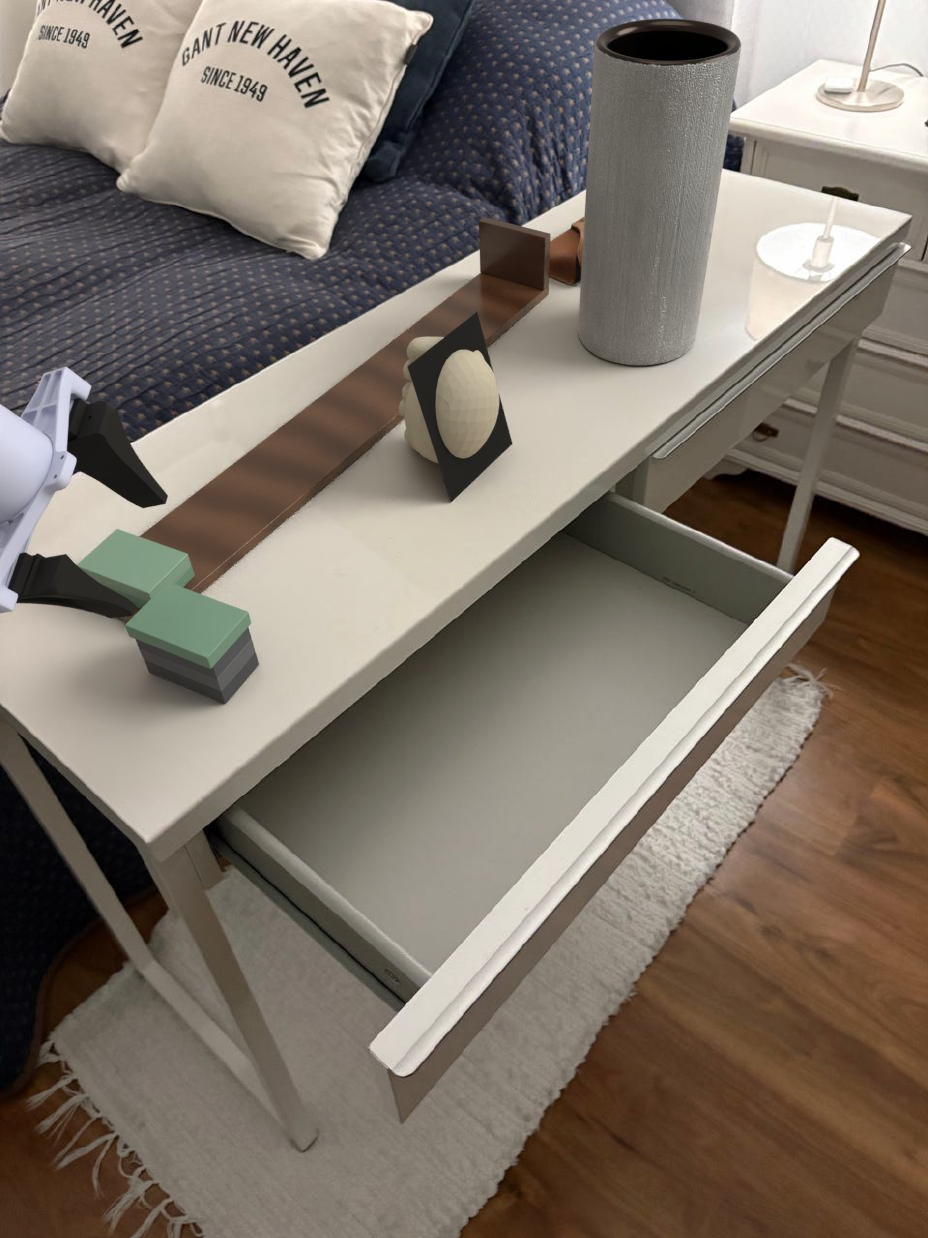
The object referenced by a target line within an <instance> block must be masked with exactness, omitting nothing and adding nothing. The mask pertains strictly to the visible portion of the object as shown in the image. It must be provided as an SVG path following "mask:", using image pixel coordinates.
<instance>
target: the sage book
mask: <svg viewBox="0 0 928 1238" xmlns="http://www.w3.org/2000/svg"><path fill="white" fill-rule="evenodd" d="M251 624H252V620H251V616H250V613H249V611H246V610H245V609H242V608H240V607H237V606H234V605H232V604H229V603H225V602H223V601H220V600H218V599H215V598H212V597H209V596H207V595H204V594H202V593H200V594H199V593H196V592H194V591H191V590H188V589H185V588H183V587H180V586H177V585H175V584H172V583H169V582H168V583H167V584H166V585H165V586H163V587H162V588H161V589H160V590H159V591H158V592H157V593H156V594H155V595H154V596H153V597H152V598H151V599H150V600H149V601H148V602H147V603H146V604H145V605H144V606H143V607H142V608H141V609H140V610H139V611H138V612H137V613H136V614H135V615H134V616H133V617H132V618H131V619H130V620H129V621H128V622H127V623H126V622H125V624H124V627H125V629H126V632H127V634H128V636H129V637H130V638H132V639H134V640H136V639H137V640H140V641H142V642H145V643H147V644H150V645H152V646H155V647H157V648H160V649H162V650H165V651H167V652H169V653H172V654H174V655H177V656H179V657H182V658H184V659H187V660H189V661H192V662H194V663H197V664H199V665H202V666H204V667H207V668H209V669H211V668H212V667H213V666H214V665H215V664H216V663H217V662H218V660H219V659H220V658H221V657H222V656H223V655H224V654H225V653H226V651H227V650H228V649H229V648H230V647H231V646H232V645H233V644H234V642H235V641H236V640H237V639H238V638H239V637H240V636H241V634H242V633H243V632H244V631H245V630H246V629H247V628H248V627H250V626H251Z"/></svg>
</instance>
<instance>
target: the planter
mask: <svg viewBox="0 0 928 1238" xmlns="http://www.w3.org/2000/svg"><path fill="white" fill-rule="evenodd" d="M593 48H594V49H593V50H594V51H593V65H592V79H591V81H592V82H591V98H590V117H589V130H588V131H589V133H588V149H587V150H588V151H587V168H586V184H585V185H586V186H585V200H584V201H585V202H584V216H583V217H584V234H583V251H582V269H581V281H580V286H579V287H580V288H579V304H578V337H579V340H580V342H581V344H582V345H583V347H585V348H586V350H588V351H589V352H590V353H592V354H593V355H595V356H597V357H598V358H601V359H603V360H606V361H608V362H612V363H616V364H621V365H626V366H627V365H628V366H653V365H658V364H664V363H668V362H671V361H674V360H676V359H678V358H680V357H682V356H683V355H685V354H686V353H687V352H688V351H689V350H690V349H691V348H692V347H693V346H694V343H695V340H696V335H697V331H698V327H699V321H700V313H701V308H702V301H703V295H704V289H705V282H706V276H707V275H706V274H707V268H708V263H709V257H710V256H709V255H710V249H711V243H712V237H713V230H714V226H715V225H714V224H715V219H716V218H715V217H716V211H717V205H718V198H719V192H720V186H721V180H722V172H723V166H724V161H725V155H726V148H727V141H728V136H729V129H730V124H731V123H730V121H731V116H732V109H733V103H734V98H735V97H734V96H735V91H736V84H737V77H738V70H739V64H740V58H741V50H742V42H741V39H740V38H739V36H738V35H737V34H735V32H733V31H732V30H730V29H728V28H726V27H723V26H721V25H719V24H714V23H711V22H707V21H702V20H694V19H686V18H648V19H638V20H633V21H628V22H623V23H620V24H619V23H618V24H617V25H613V26H612V27H609V28H607V29H605V30H603V31H602V32H601V33H600V34H599V35H598V36H597V38H596V39H595V41H594V47H593Z"/></svg>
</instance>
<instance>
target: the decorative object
mask: <svg viewBox="0 0 928 1238" xmlns="http://www.w3.org/2000/svg"><path fill="white" fill-rule="evenodd" d="M407 356H408V358H409V360H408V361H407V362H406V363H405V365H404V368H403V374H404V377H405V378H406V379H407V380H408V381H410V382H409V383H407V384H406V385H405V386H404V387H403V389H402V397H403V399H402V401H401V402H400V405H399V412H400V414H401V416H402V417H404V422H405V423H404V425H405V429H404V433H403V434H404V435H403V437H404V439H405V442H406V443H407V444H408V446H410V447H411V448H412V449H413V450H414V451H415V452H417V453H419V454H420V455H421V456H422V457H423V458H425V459H427V460H429V461H431V462H433V463H435V464H438V466H439V469H440V472H441V476H442V479H443V482H444V485H445V488H446V491H447V494H448V498H449V500H450V503H452V502H453V501H454V500H456V499H457V498H458V497H459V496H460V495H461V494H462V493H463V492H464V491H465V490H466V489H467V488H468V487H469V486H470V485H471V484H472V483H473V482H474V481H476V479H477V478H478V477H480V476H481V474H483V473H484V472H485V471H486V470H487V469H488V468H489V467H490V466H491V465H492V464H493V463H494V462H495V461H496V460H497V459H498V458H499V457H500V456H501V455H503V454H504V452H505V451H507V449H509V447H511V446H512V445H513V440H512V436H511V432H510V429H509V424H508V422H507V417H506V415H505V410H504V407H503V406H504V405H503V403H502V400H501V399H502V398H501V395H500V391H499V386H498V381H497V379H496V375H495V372H494V368H493V366H492V362H491V359H490V355H489V351H488V347H487V346H486V343H485V339H484V335H483V331H482V328H481V324H480V320H479V316H478V313H477V312H476V313H475V314H473V315H472V316H471V317H470V318H468V319H467V320H466V321H464V322H463V323H462V324H461V325H459V326H458V327H457V328H456V329H454V330H453V331H452V332H450V333H449V334H448V335H447V336H445V337H418V338H415V339H413V340H412V341H411V342H410V343H409V345H408V347H407Z"/></svg>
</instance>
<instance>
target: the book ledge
mask: <svg viewBox="0 0 928 1238" xmlns="http://www.w3.org/2000/svg"><path fill="white" fill-rule="evenodd" d="M478 234H479V235H478V237H479V238H478V239H479V240H478V241H479V273H478V274H476V276H474V277H473V278H472V279H470V280H469V281H467V282H466V283H465V284H464V285H462V286H461V287H460V288H458V289H457V290H456V291H454V293H452V294H451V295H450V296H449V297H447V298H446V299H445V300H443V301H442V302H440V303H439V304H438V305H437V306H435V307H434V308H432V310H431V311H429V312H428V313H426V314H425V315H424V316H422V317H421V318H419V319H418V320H417V321H415V322H414V323H413V324H412V325H411V326H409V327H408V328H407V329H406V330H404V331H403V332H402V333H400V334H399V335H398V336H396V337H395V338H394V339H393V340H391V341H389V343H388V344H386V345H384V347H382V348H381V349H379V350H378V351H377V352H375V353H374V354H373V355H372V356H371V357H369V358H368V359H367V360H365V361H364V362H363V363H361V364H360V365H359V366H358V367H356V368H355V369H354V370H352V371H351V372H350V373H349V374H348V375H346V376H345V377H343V378H342V379H341V380H340V381H338V382H337V383H336V384H334V385H333V386H332V387H330V388H329V389H328V390H327V391H325V392H324V393H323V394H321V395H320V396H318V397H317V398H316V399H315V400H313V401H312V402H311V403H310V404H308V405H307V406H306V407H304V408H303V409H302V410H301V411H300V412H298V413H297V414H295V415H294V416H293V417H292V418H290V419H289V420H288V421H286V422H285V423H284V424H283V425H281V426H280V427H279V428H277V429H276V430H275V431H274V432H272V433H271V434H269V435H268V436H267V437H265V439H263V440H262V441H261V442H259V443H258V444H257V445H255V446H254V447H252V448H251V449H250V450H249V451H248V452H246V453H245V454H244V455H242V456H241V457H240V458H238V459H237V460H236V461H235V462H233V463H232V464H231V465H230V466H228V467H226V469H224V470H223V471H222V472H220V473H219V474H218V475H216V476H214V478H212V479H211V480H210V481H209V482H208V483H206V484H205V485H204V486H202V487H201V488H200V489H198V490H197V491H196V492H195V493H193V494H192V495H191V496H189V497H188V498H187V499H185V500H184V501H182V503H180V504H179V505H178V506H176V507H175V508H174V509H172V510H171V511H170V512H169V513H167V514H166V515H165V516H164V517H162V518H161V519H159V521H157V522H155V523H154V524H153V525H151V527H149V528H147V529H146V531H144V532H143V533H141V534H140V535H138V536H139V537H142V538H144V539H147V540H150V541H153V542H156V543H158V544H161V545H164V546H167V547H170V548H173V549H175V550H178V551H181V552H184V553H187V554H188V556H189V559H190V562H191V565H192V568H193V571H194V574H195V576H194V577H193V578H192V579H191V580H190V581H189V582H188V583H187V584H186V585H185V586H184V587H183V588H185V589H188V590H191V591H194V592H196V593H199V594H202V593H203V592H204V591H205V590H206V589H208V588H209V587H210V586H211V585H212V584H213V583H214V582H216V581H217V580H218V579H219V578H220V577H222V575H224V574H225V573H226V572H228V571H229V570H230V569H231V568H232V567H233V566H235V565H236V564H237V563H238V562H240V560H242V558H244V557H245V556H246V555H248V554H249V552H251V551H252V550H253V549H254V548H255V547H257V546H258V545H259V544H260V543H261V542H263V540H265V539H266V538H267V537H268V536H270V534H271V533H273V532H275V530H277V528H279V527H280V526H281V525H283V523H285V521H287V520H288V519H289V518H291V516H293V515H295V513H296V512H297V511H298V510H299V509H300V508H302V507H304V505H306V503H308V502H309V501H310V500H311V499H313V498H314V497H315V496H317V494H318V493H319V492H321V491H322V490H323V489H324V488H326V487H327V485H329V484H330V483H331V482H332V481H333V480H335V479H336V478H337V477H338V476H339V475H340V474H341V473H343V472H344V470H347V468H348V467H350V466H351V465H352V464H353V463H355V462H356V461H357V460H358V459H359V458H360V457H362V455H364V454H365V453H366V452H367V451H368V450H369V449H370V448H372V447H373V446H374V445H375V444H376V443H378V441H380V440H381V439H382V438H383V437H385V436H386V435H387V434H388V433H389V432H390V431H391V430H392V429H395V427H396V426H397V425H398V424H400V423H401V422H402V421H403V420H405V418H404V417H402V416H401V414H400V412H399V405H400V402H401V401H402V399H403V397H402V389H403V387H404V386H405V385H406V384H407V383H409V382H410V381H408V380H407V379H406V378H405V377H404V374H403V368H404V365H405V363H406V362H407V361H408V360H409V358H408V356H407V347H408V345H409V343H410V342H411V341H412V340H413V339H415V338H418V337H445V336H447V335H448V334H449V333H450V332H452V331H453V330H454V329H456V328H457V327H458V326H459V325H461V324H462V323H463V322H464V321H466V320H467V319H468V318H470V317H471V316H472V315H473V314H475V313H476V312H477V313H478V316H479V320H480V324H481V328H482V331H483V335H484V339H485V343H486V346H487V348H489V346H490V345H491V344H493V343H494V342H495V341H497V339H499V338H500V337H501V336H502V335H504V333H506V332H507V331H508V330H509V329H510V328H511V327H513V326H514V325H515V324H516V323H517V322H518V321H520V320H521V319H522V318H523V317H524V316H526V314H528V313H529V312H531V310H532V309H533V308H535V307H536V306H537V305H539V304H540V303H541V301H543V300H544V299H545V298H546V297H548V296H549V294H550V277H549V266H550V241H551V233H549V232H546V231H542V230H537V229H533V228H529V227H525V226H522V225H517V224H514V223H510V222H506V221H502V220H498V219H493V218H490V217H486V216H485V217H482V218H481V219H480V220H478ZM139 610H140V608H138V607H135V610H134V613H133V615H132V616H127V617H119V618H118V620H121V621H122V622H124V623H125V624H126V623H127V622H128V621H129V620H130V619H131V618H132V617H133V616H134V615H135V614H136V613H137V612H138V611H139Z"/></svg>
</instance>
